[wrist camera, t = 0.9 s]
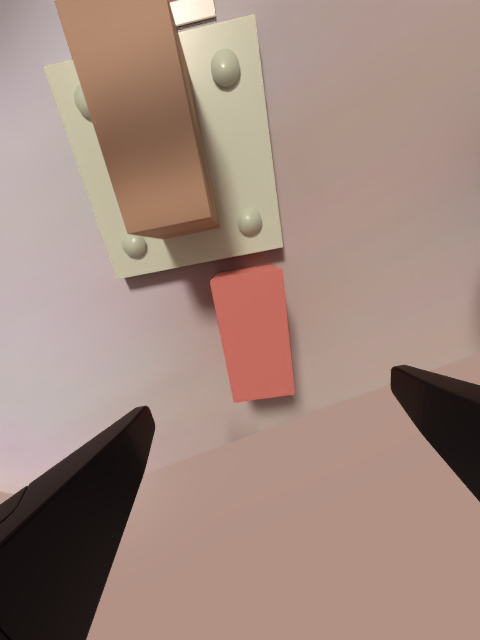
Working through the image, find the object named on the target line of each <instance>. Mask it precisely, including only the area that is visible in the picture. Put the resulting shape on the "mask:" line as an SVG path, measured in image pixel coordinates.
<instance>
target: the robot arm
mask: <svg viewBox="0 0 480 640" xmlns="http://www.w3.org/2000/svg"><path fill="white" fill-rule="evenodd" d="M391 390H392V393H393V394H394V396H395V397H396V398H397V400H398V401H399V403H400V404H401V405H402V407H403V408H404V410H405V411H406V413H407V414H408V416H409V417H410V418H411V420H412V421H413V422H414V424H415V425H416V427H417V428H418V429H419V431H420V432H421V433H422V435H423V436H424V437H425V438H426V440H427V441H428V442H429V443H430V444H431V445H432V447H433V448H434V449H435V450H436V451H437V452H438V454H439V455H440V456H441V457H442V458H443V459H444V461H445V462H446V463H447V464H448V465H449V466H450V468H451V469H452V470H453V471H454V472H455V474H456V475H457V476H458V477H459V478H460V479H461V481H462V482H463V483H464V484H465V485H466V486H467V488H468V489H469V490H470V491H471V492H472V493H473V495H474V496H475V497H476V498H477V499H478V500H479V502H480V385H476V384H473V383H469V382H465V381H462V380H458V379H455V378H451V377H447V376H443V375H440V374H437V373H433V372H429V371H426V370H422V369H418V368H415V367H411V366H407V365H400V366H394V367H392V369H391ZM154 432H155V422H154V419H153V417H152V414H151V411H150V409H149V407H148V406H141V407H136V408H135V409H133V410H132V411H130V412H129V413H128V414H126V415H125V416H123V417H122V418H121V419H119V420H118V421H116V422H115V423H114V424H112V425H111V426H109V427H108V428H107V429H105V430H104V431H102V432H101V433H100V434H98V435H97V436H95V437H94V438H93V439H91V440H90V441H88V442H87V443H86V444H84V445H83V446H82V447H80V448H79V449H77V450H76V451H75V452H73V453H72V454H70V455H69V456H68V457H66V458H65V459H63V460H62V461H61V462H59V463H58V464H56V465H55V466H54V467H52V468H51V469H49V470H48V471H47V472H45V473H44V474H42V475H41V476H40V477H38V478H37V479H35V480H34V481H33V482H31V483H30V484H29V486H26V487H24V488H23V489H21V490H20V491H19V492H17V493H16V494H14V495H13V496H12V497H10V498H9V499H7V500H6V501H4V502H3V503H2V504H0V640H86V638H87V636H88V633H89V630H90V627H91V624H92V621H93V618H94V615H95V612H96V610H97V606H98V604H99V601H100V598H101V595H102V592H103V590H104V587H105V584H106V581H107V578H108V575H109V572H110V569H111V567H112V563H113V561H114V558H115V555H116V552H117V549H118V547H119V543H120V541H121V538H122V535H123V532H124V529H125V526H126V523H127V521H128V517H129V515H130V512H131V509H132V506H133V504H134V501H135V497H136V495H137V492H138V489H139V486H140V483H141V481H142V478H143V474H144V471H145V468H146V464H147V460H148V456H149V452H150V448H151V444H152V440H153V436H154Z"/></svg>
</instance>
